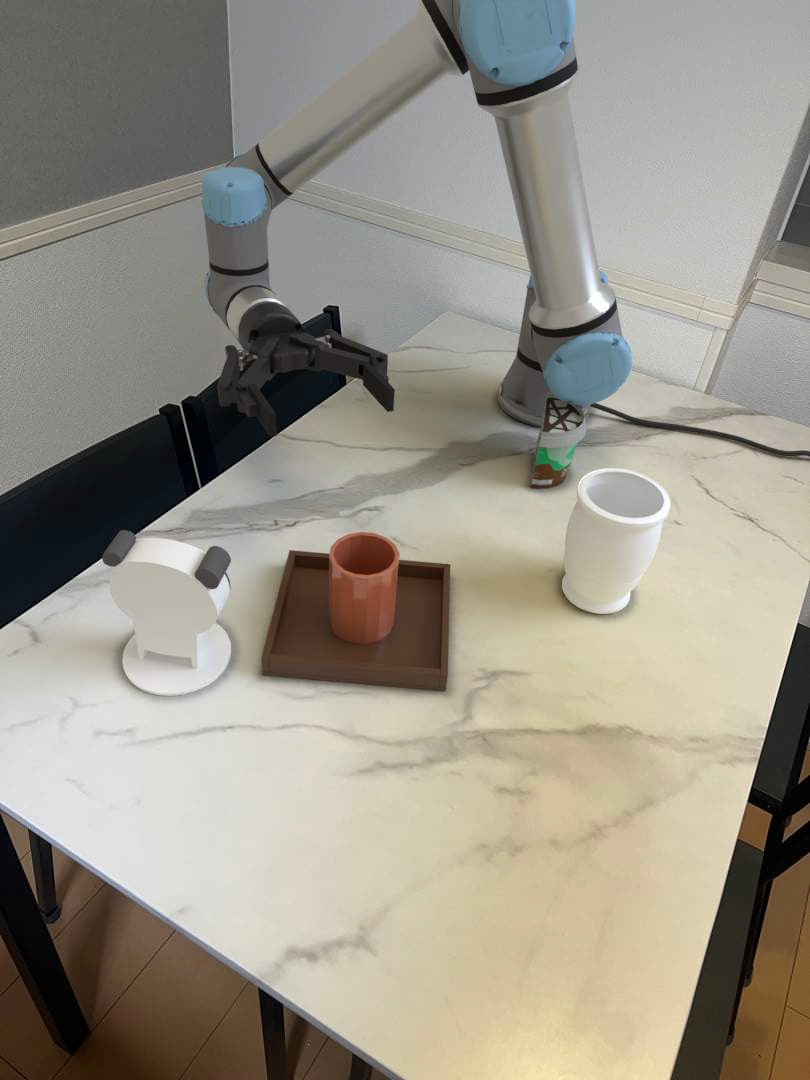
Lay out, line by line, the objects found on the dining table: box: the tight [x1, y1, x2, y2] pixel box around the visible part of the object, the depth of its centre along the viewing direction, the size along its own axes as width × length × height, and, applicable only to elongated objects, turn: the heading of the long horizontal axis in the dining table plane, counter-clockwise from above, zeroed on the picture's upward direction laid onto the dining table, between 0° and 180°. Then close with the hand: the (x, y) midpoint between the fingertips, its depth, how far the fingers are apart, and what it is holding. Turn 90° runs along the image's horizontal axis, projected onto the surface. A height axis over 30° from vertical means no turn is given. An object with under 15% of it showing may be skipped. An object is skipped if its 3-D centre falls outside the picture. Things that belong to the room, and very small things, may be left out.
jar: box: [561, 467, 672, 615], centre depth 94 cm, size 11×10×15 cm
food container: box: [530, 392, 587, 490], centre depth 115 cm, size 12×6×10 cm, turn 168°
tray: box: [260, 549, 451, 692], centre depth 91 cm, size 20×18×3 cm
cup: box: [328, 531, 400, 644], centre depth 88 cm, size 7×7×10 cm
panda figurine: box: [101, 529, 232, 697], centre depth 82 cm, size 12×11×15 cm
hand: (333, 412), depth 85 cm, fingers open, 13 cm apart
